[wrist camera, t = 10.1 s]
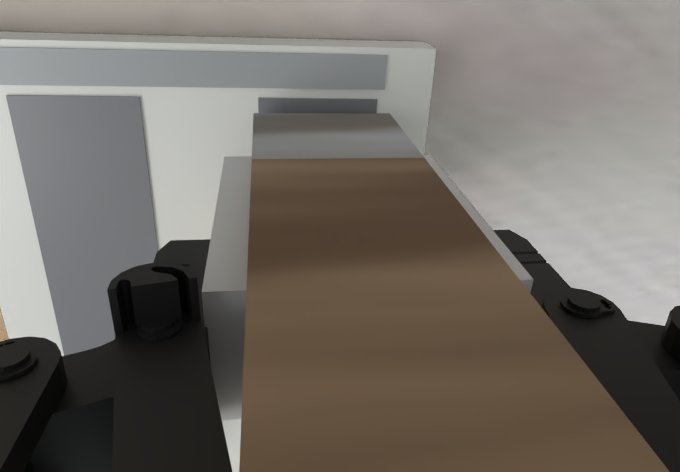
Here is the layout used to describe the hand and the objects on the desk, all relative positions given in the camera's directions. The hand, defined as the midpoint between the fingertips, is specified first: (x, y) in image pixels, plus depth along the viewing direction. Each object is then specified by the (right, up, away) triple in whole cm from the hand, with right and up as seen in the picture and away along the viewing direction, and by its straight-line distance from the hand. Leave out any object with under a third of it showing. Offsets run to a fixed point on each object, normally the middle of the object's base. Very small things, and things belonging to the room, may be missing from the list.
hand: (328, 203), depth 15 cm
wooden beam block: (0, +1, +2) cm, 2 cm away
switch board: (-4, -3, +6) cm, 8 cm away
